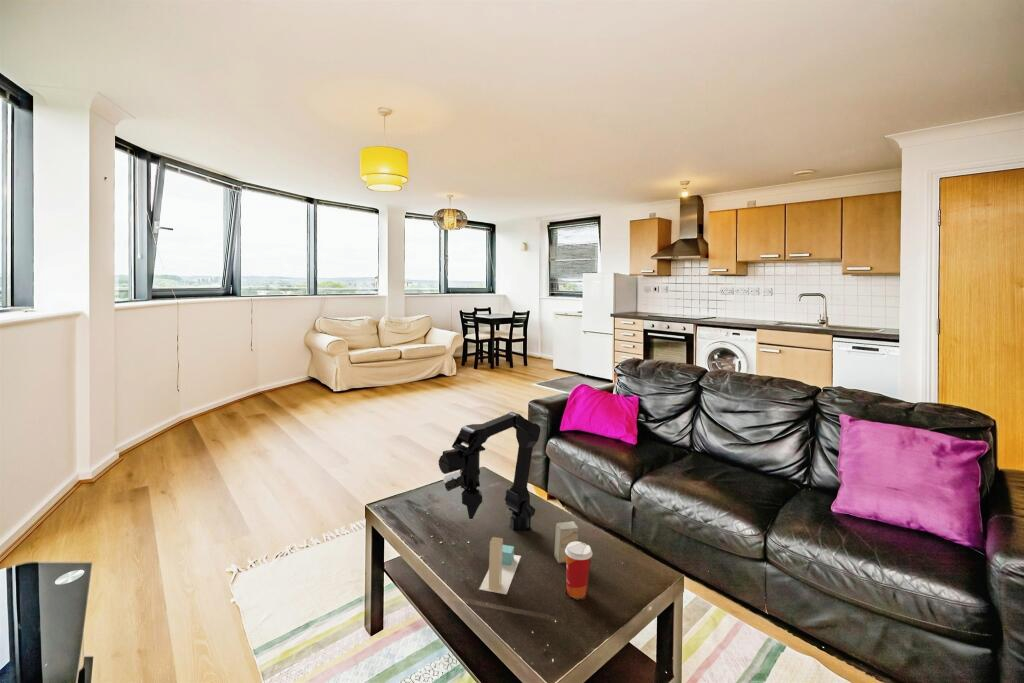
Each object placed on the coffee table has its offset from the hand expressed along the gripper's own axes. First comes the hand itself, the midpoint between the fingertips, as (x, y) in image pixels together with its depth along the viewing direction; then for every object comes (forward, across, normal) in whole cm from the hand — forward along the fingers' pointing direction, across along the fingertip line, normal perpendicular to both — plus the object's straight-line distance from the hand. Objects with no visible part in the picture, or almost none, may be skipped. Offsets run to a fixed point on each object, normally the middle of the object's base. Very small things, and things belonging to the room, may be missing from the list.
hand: (470, 511), depth 151 cm
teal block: (+13, +8, +11) cm, 19 cm away
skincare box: (+14, +8, +30) cm, 34 cm away
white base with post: (+14, +14, +9) cm, 21 cm away
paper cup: (+14, +25, +29) cm, 40 cm away
